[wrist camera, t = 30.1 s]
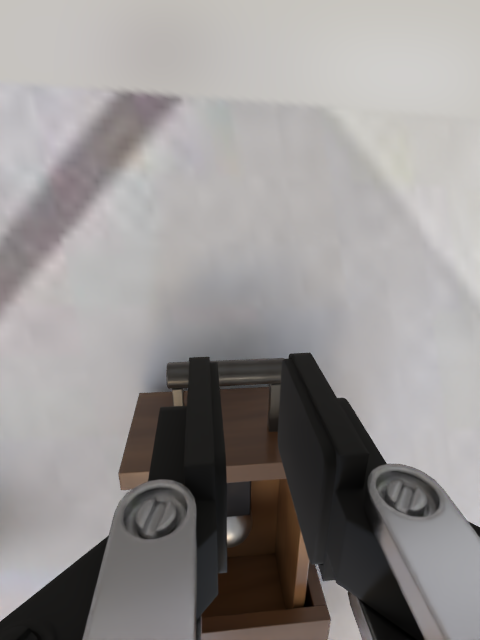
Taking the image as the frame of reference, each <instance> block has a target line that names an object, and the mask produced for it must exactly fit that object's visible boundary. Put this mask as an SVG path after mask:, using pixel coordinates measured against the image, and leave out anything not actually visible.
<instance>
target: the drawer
mask: <svg viewBox="0 0 480 640" xmlns="http://www.w3.org/2000/svg"><path fill="white" fill-rule="evenodd" d="M282 360H283V358H273V359H248V360H223V361H210V362H218V373H219V385H220V386H235V385H256V384H269V387H258V388H236V389H220V396H221V407H222V418H223V430H224V441H225V453H226V472H227V483H233V482H247V481H251V512H252V519H253V521H252V528H251V531H250V533H249V535H248V536H247V538H246V539H245V540H244V541H243V542H242V543H241V544H239V545H237V546H235V547H232V548H227V573H218V595H217V596H216V598H215V599H214V600H213V601H212V602H211V604H210V605H209V606H208V607H207V608H206V610H205V611H204V612H203V613H202V618H207V617H217V616H226V615H236V614H246V613H255V612H265V611H275V610H285V609H294V608H304V603H305V594H306V586H307V577H308V568H309V558H308V555H307V551H306V547H305V544H304V540H303V537H302V533H301V529H300V526H299V522H298V518H297V515H296V511H295V507H294V504H293V500H292V496H291V493H290V489H289V486H288V482H287V478H286V475H285V471H284V467H283V464H282V460H281V456H280V453H279V448H278V422H279V404H280V387H281V369H282ZM188 375H189V362H173V363H168V364H167V370H166V378H167V387H168V388H169V389H170V388H172V392H152V393H139V397H138V401H137V404H136V408H135V412H134V416H133V420H132V424H131V427H130V431H129V435H128V439H127V443H126V447H125V450H124V454H123V458H122V462H121V466H120V469H119V480H120V487H121V490H132V489H134V488H135V487H136V486H139V485H141V484H143V483H146V482H148V478H149V472H150V466H151V459H152V453H153V447H154V441H155V435H156V429H157V422H158V416H159V411H160V408H161V407H170V406H187V394H188V391H184V389H183V388H188Z"/></svg>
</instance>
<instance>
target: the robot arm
mask: <svg viewBox="0 0 480 640" xmlns="http://www.w3.org/2000/svg"><path fill="white" fill-rule="evenodd" d="M278 448H279V453H280V456H281V460H282V464H283V467H284V471H285V475H286V478H287V482H288V486H289V489H290V493H291V496H292V500H293V504H294V507H295V511H296V515H297V518H298V522H299V526H300V529H301V533H302V537H303V540H304V544H305V547H306V551H307V555H308V558H309V561H310V563H311V564H312V565H314V564H318V565H319V569H320V572H321V576H322V579H323V581H329V580H336V583H337V584H339V585H340V586H342V587H343V588H345V589H346V590H347V591H348V596H349V601H350V605H351V608H352V611H353V614H354V617H355V620H356V622H357V625H358V628H359V631H360V634H361V637H362V640H480V527H478V526H476V525H474V524H472V523H470V522H468V521H467V520H466V519H465V517H464V516H463V515H462V513H461V512H460V511H459V509H458V508H457V507H456V505H455V504H454V503H453V501H452V500H451V499H450V497H449V496H448V495H447V493H446V492H445V491H444V489H443V488H442V487H441V486H440V485H439V484H438V483H437V482H436V481H435V480H434V479H433V478H431V477H430V476H428V475H427V474H425V473H424V472H422V471H420V470H418V469H415V468H413V467H410V466H406V465H402V464H387V463H386V462H385V460H384V459H383V457H382V455H381V454H380V452H379V451H378V449H377V447H376V446H375V444H374V443H373V441H372V439H371V438H370V436H369V434H368V433H367V431H366V430H365V428H364V426H363V425H362V423H361V422H360V420H359V418H358V417H357V415H356V414H355V412H354V410H353V409H352V407H351V405H350V404H349V402H348V401H347V400H346V399H345V398H337V397H336V396H335V394H334V392H333V391H332V389H331V387H330V385H329V384H328V382H327V380H326V378H325V377H324V375H323V373H322V372H321V370H320V368H319V366H318V365H317V363H316V361H315V360H314V358H313V356H312V354H311V353H295V354H290V355H289V359H283V360H282V369H281V387H280V404H279V422H278ZM218 573H227V472H226V453H225V441H224V430H223V418H222V407H221V396H220V385H219V373H218V362H210V359H209V357H193V358H189V375H188V394H187V406H170V407H161V408H160V411H159V416H158V422H157V429H156V435H155V441H154V447H153V453H152V459H151V466H150V472H149V478H148V482H146V483H143V484H141V485H139V486H136V487H135V488H134V489H132V490H131V491H130V492H128V493H127V494H126V495H125V496H124V497H123V499H122V500H121V501H120V502H119V504H118V506H117V508H116V511H115V513H114V517H113V521H112V525H111V529H110V533H109V536H108V537H106V538H105V539H104V540H103V541H101V542H100V543H99V544H98V545H96V546H95V547H94V548H93V549H91V550H90V551H89V552H88V553H86V554H85V555H84V556H82V557H81V558H80V559H79V560H77V561H76V562H75V563H74V564H72V565H71V566H70V567H69V568H67V569H66V570H65V571H64V572H62V573H61V574H60V575H58V576H57V577H56V578H55V579H53V580H52V581H51V582H50V583H48V584H47V585H46V586H45V587H43V588H42V589H41V590H40V591H38V592H37V593H36V594H34V595H33V596H32V597H31V598H29V599H28V600H27V601H26V602H24V603H23V604H22V605H21V606H19V607H18V608H17V609H16V610H14V611H13V612H12V613H11V614H9V615H8V616H7V617H5V618H4V619H3V620H2V621H0V640H202V613H203V612H204V611H205V610H206V608H207V607H208V606H209V605H210V604H211V602H212V601H213V600H214V599H215V598H216V596H217V595H218Z"/></svg>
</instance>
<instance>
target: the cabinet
mask: <svg viewBox="0 0 480 640" xmlns="http://www.w3.org/2000/svg"><path fill="white" fill-rule="evenodd" d="M330 621H331V619H330V615H329V612H328V608H327V605H326V601H325V598H324V594H323V591H322V587H321V584H320V580H319V577H318V574H317V570H316V567H315V564H314V565H312V564H311V563H310V561H309V568H308V577H307V586H306V594H305V603H304V608H294V609H285V610H275V611H265V612H255V613H246V614H236V615H226V616H217V617H207V618H202V640H327V639H328V633H329V627H330Z"/></svg>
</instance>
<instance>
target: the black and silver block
mask: <svg viewBox="0 0 480 640" xmlns="http://www.w3.org/2000/svg"><path fill="white" fill-rule="evenodd" d="M252 521H253V519H252V512H251V481H247V482H233V483H227V548H232V547H235V546H237V545H239V544H241V543H242V542H243V541H244V540H245V539H246V538H247V536H248V535H249V533H250V531H251V528H252Z"/></svg>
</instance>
